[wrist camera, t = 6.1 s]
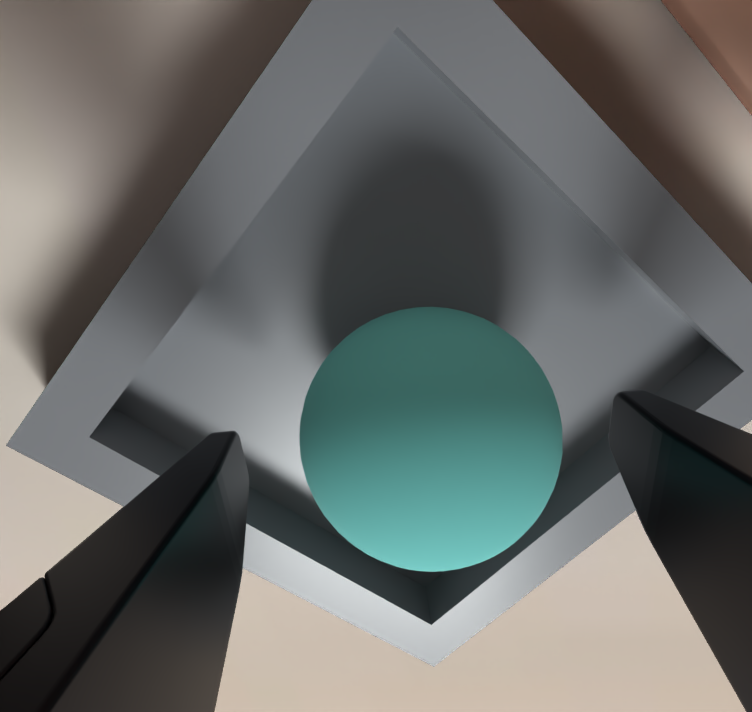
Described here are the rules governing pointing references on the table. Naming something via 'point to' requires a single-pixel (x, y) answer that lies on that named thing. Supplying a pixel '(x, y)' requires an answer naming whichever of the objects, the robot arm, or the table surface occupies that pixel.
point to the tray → (399, 294)
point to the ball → (431, 439)
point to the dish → (721, 38)
